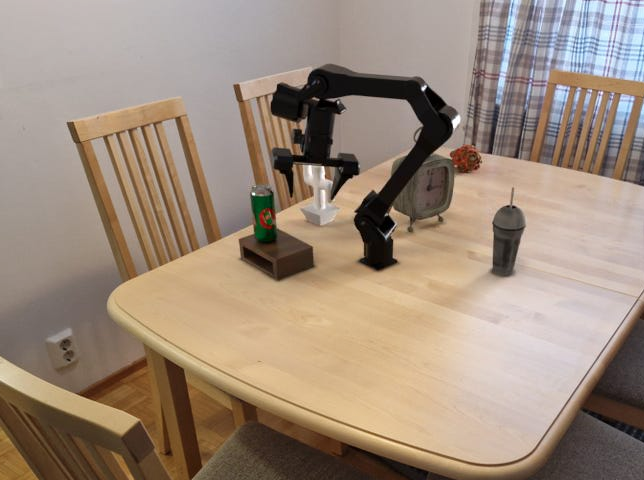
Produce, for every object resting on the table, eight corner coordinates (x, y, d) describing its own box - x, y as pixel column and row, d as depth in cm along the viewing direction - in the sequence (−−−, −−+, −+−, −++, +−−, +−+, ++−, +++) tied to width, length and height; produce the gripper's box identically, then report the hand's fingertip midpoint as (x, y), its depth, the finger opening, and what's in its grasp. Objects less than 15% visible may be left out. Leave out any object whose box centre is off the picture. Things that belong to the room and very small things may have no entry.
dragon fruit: (478, 181, 200) (449, 176, 207) (492, 160, 201) (463, 156, 209) (467, 161, 193) (438, 158, 201) (482, 140, 195) (452, 137, 203)
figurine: (323, 230, 161) (321, 171, 153) (297, 220, 166) (293, 162, 158) (343, 222, 166) (342, 164, 158) (317, 212, 171) (314, 156, 162)
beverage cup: (521, 267, 148) (534, 183, 137) (515, 281, 143) (528, 194, 131) (490, 262, 150) (500, 178, 139) (483, 275, 144) (493, 189, 133)
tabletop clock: (409, 237, 160) (414, 134, 146) (386, 225, 165) (388, 125, 151) (450, 223, 168) (459, 124, 154) (427, 212, 174) (432, 116, 159)
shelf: (313, 266, 145) (313, 246, 142) (277, 280, 139) (276, 259, 136) (276, 246, 153) (275, 227, 150) (240, 259, 147) (238, 238, 144)
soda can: (257, 234, 146) (252, 182, 140) (279, 235, 146) (275, 184, 139) (252, 243, 142) (246, 191, 135) (274, 244, 142) (270, 192, 135)
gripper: (353, 119, 144) (343, 185, 153) (269, 111, 137) (264, 180, 147) (366, 138, 136) (354, 206, 145) (277, 130, 129) (271, 202, 139)
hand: (311, 198), depth 144 cm, fingers open, 9 cm apart
